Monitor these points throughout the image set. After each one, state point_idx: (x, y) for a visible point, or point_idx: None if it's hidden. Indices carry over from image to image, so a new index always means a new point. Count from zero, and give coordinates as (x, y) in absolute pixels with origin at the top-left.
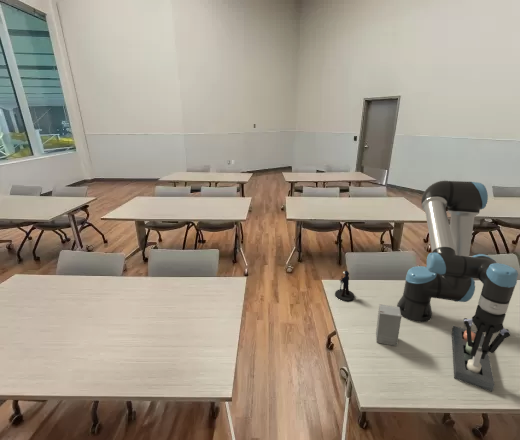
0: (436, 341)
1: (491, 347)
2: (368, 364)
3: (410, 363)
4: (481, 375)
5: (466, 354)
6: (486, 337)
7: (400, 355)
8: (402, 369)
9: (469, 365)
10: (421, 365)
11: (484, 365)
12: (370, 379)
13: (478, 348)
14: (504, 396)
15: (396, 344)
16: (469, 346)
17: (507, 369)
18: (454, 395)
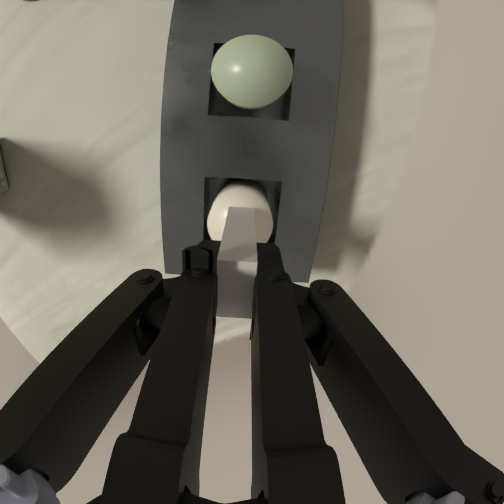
0: (116, 47)
1: (314, 356)
2: (5, 295)
3: (53, 246)
4: None
5: (219, 121)
6: (252, 457)
7: (26, 224)
8: (48, 281)
9: (214, 239)
10: (76, 239)
11: (299, 174)
12: (29, 332)
13: (229, 286)
14: (337, 261)
15: (3, 192)
16: (224, 96)
17: (397, 105)
18: None
